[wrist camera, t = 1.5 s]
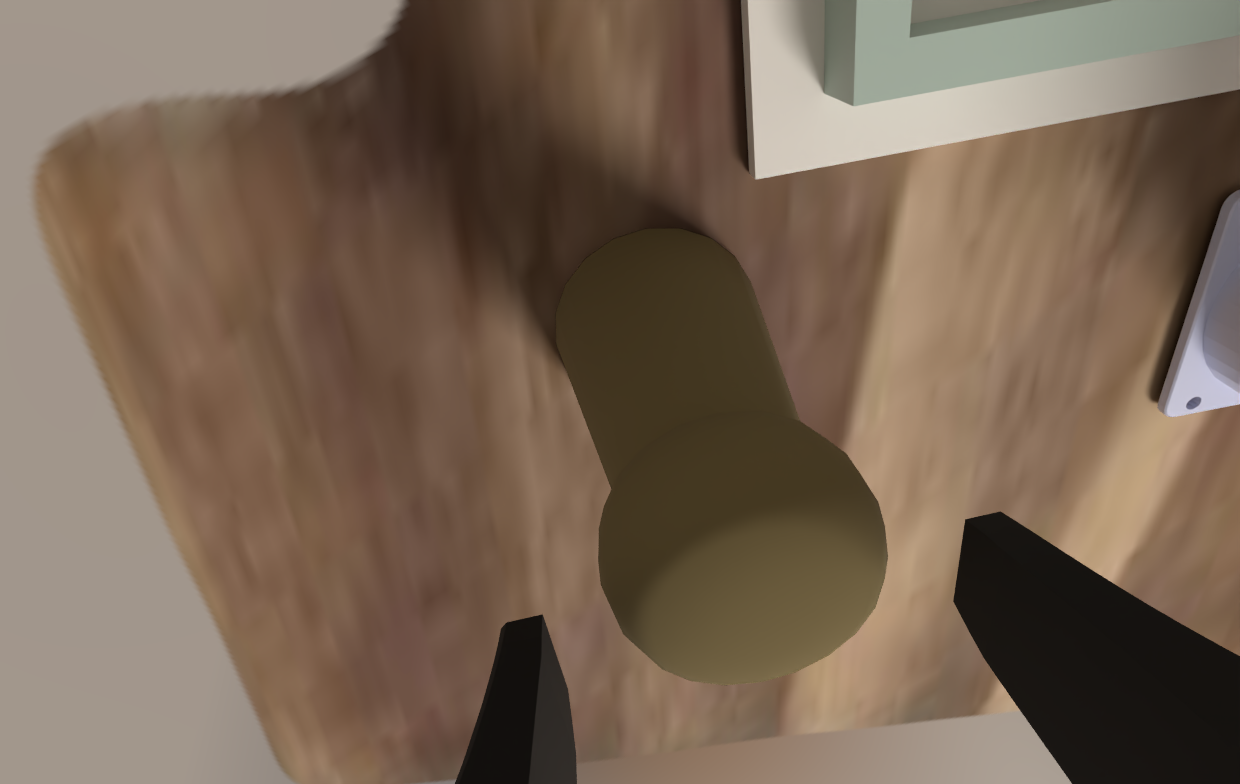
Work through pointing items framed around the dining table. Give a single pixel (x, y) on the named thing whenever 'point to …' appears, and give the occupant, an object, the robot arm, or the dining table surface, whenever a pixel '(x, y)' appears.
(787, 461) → the cork
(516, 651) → the robot arm
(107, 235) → the dining table surface
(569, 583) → the dining table surface
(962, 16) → the socket block
